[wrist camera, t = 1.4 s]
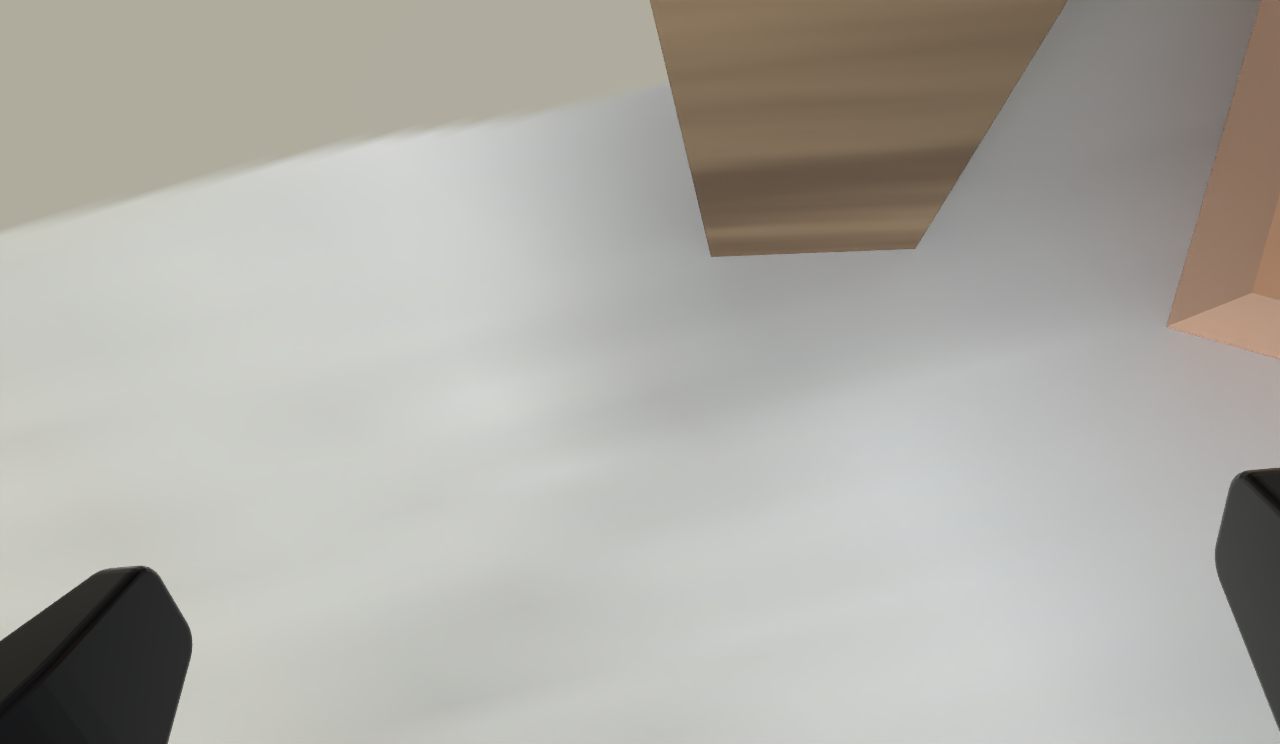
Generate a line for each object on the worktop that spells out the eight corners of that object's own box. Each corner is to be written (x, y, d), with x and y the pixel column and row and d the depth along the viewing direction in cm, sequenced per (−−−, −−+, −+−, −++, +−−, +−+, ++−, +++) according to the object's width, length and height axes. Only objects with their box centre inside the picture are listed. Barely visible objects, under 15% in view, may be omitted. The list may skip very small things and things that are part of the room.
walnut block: (915, 248, 21) (1136, -112, 9) (711, 256, 22) (633, -69, 9) (906, 54, 22) (1101, -556, 9) (707, 67, 23) (630, -490, 10)
